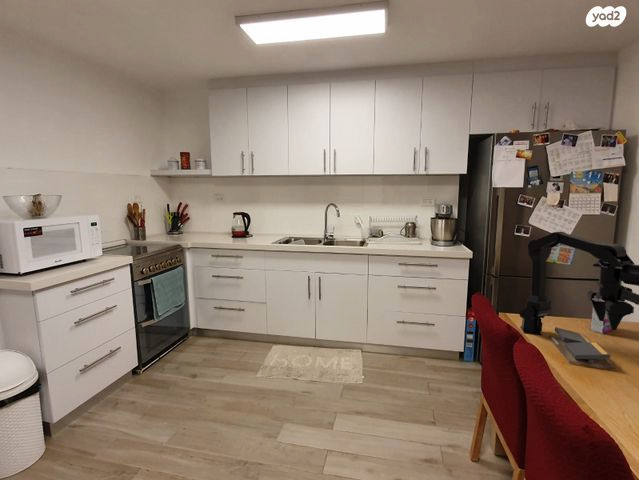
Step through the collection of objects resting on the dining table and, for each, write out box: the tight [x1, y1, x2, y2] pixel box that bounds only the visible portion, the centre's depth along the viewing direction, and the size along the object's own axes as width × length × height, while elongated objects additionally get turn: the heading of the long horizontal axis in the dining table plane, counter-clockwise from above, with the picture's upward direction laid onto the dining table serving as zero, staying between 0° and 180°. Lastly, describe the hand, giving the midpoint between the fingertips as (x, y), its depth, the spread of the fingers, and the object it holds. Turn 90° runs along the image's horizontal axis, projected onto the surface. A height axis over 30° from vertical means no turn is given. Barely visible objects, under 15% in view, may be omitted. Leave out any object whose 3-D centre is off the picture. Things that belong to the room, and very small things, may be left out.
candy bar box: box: [589, 307, 613, 335], centre depth 144 cm, size 11×5×16 cm, turn 118°
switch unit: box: [548, 334, 616, 371], centre depth 125 cm, size 13×22×2 cm, turn 161°
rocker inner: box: [554, 326, 592, 343], centre depth 129 cm, size 10×10×2 cm
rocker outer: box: [564, 341, 611, 360], centre depth 119 cm, size 10×10×2 cm
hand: (607, 325), depth 116 cm, fingers open, 9 cm apart
